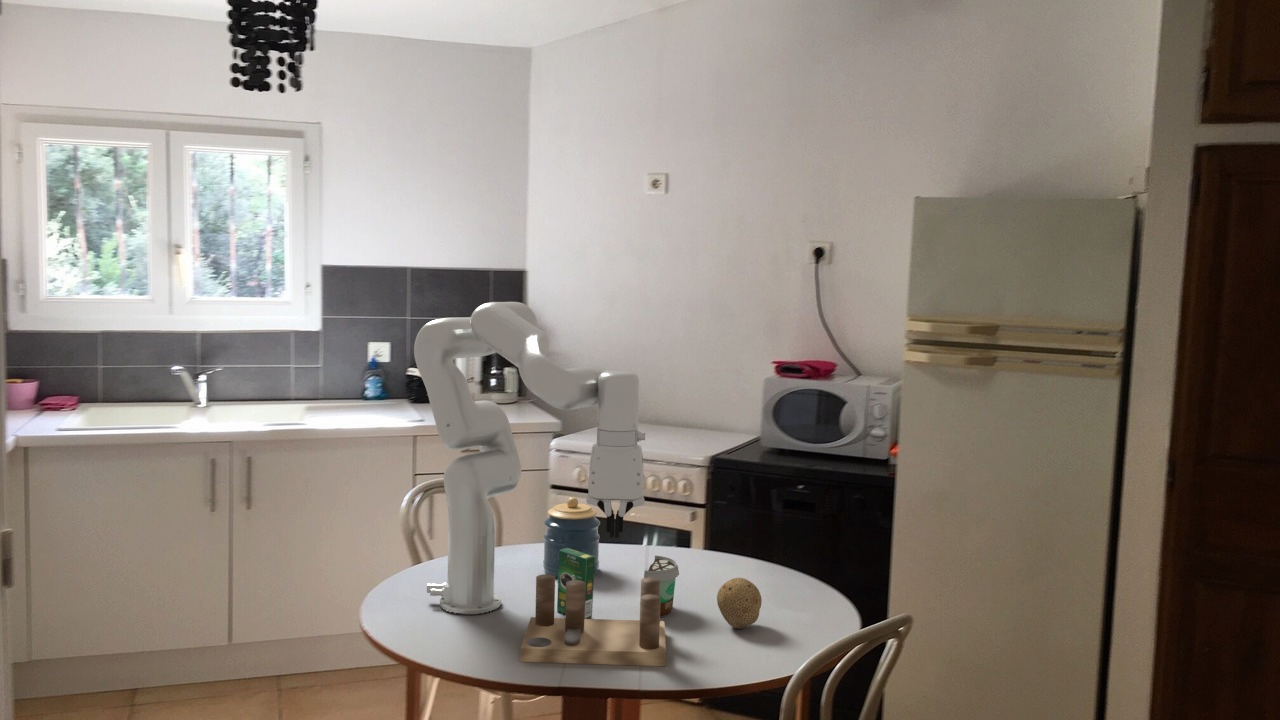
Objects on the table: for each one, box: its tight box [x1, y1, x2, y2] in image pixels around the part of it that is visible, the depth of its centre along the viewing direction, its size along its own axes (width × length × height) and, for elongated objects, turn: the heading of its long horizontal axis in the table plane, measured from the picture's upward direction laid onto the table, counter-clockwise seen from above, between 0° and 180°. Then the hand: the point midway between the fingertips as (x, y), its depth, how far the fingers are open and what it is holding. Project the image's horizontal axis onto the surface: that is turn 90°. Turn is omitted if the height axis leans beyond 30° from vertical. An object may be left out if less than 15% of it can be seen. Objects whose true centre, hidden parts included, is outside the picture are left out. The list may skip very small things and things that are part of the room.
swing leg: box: [564, 580, 585, 645], centre depth 184 cm, size 9×4×9 cm, turn 0°
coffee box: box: [556, 548, 595, 619], centre depth 203 cm, size 8×3×13 cm, turn 49°
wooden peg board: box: [519, 573, 667, 667], centre depth 186 cm, size 26×16×12 cm, turn 90°
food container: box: [643, 555, 680, 618], centre depth 207 cm, size 12×6×10 cm, turn 168°
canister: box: [542, 496, 601, 579], centre depth 232 cm, size 13×13×18 cm
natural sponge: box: [716, 577, 762, 630], centre depth 199 cm, size 9×9×10 cm
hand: (614, 535), depth 186 cm, fingers closed
